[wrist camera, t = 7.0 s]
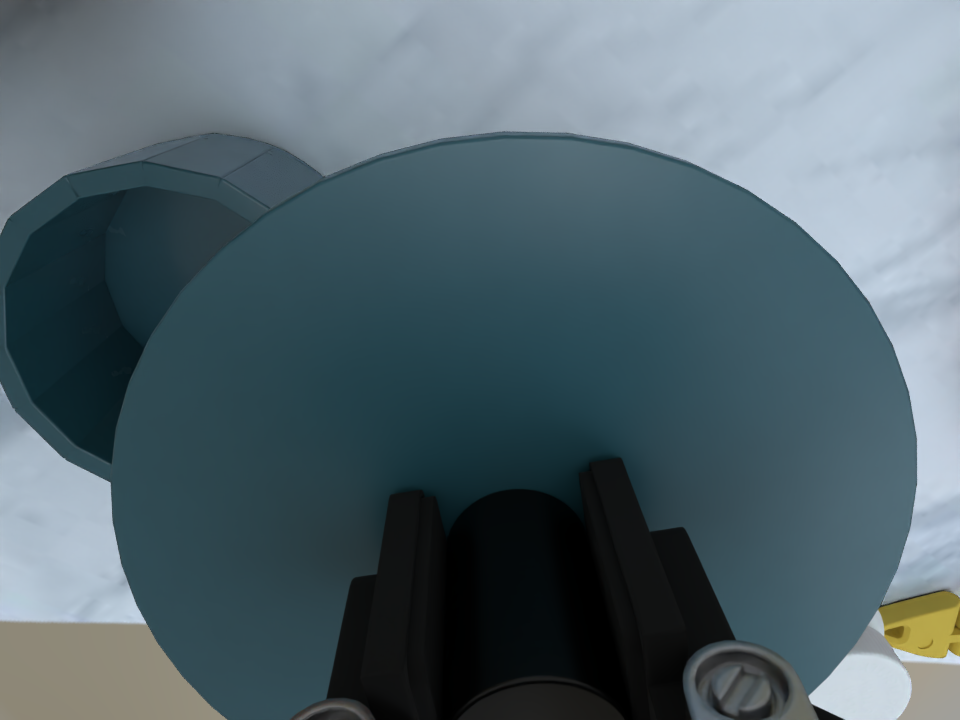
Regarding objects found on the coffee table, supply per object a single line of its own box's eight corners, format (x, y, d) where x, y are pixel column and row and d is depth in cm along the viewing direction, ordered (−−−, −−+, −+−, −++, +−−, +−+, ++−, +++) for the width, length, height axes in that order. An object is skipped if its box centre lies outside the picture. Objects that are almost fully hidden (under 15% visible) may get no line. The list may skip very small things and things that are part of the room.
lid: (262, 803, 17) (184, 1101, 12) (6, 213, 11) (-316, 335, 7) (870, 718, 16) (1038, 997, 11) (905, 47, 11) (1250, 53, 6)
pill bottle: (820, 490, 39) (952, 649, 29) (785, 581, 42) (895, 759, 31) (709, 477, 39) (803, 636, 29) (680, 571, 41) (757, 748, 31)
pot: (149, 420, 36) (67, 523, 29) (46, 163, 31) (-87, 203, 24) (399, 376, 36) (385, 469, 28) (335, 109, 31) (296, 131, 23)
